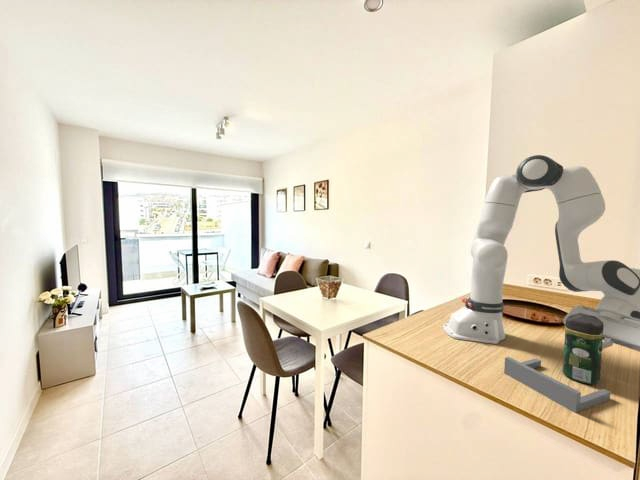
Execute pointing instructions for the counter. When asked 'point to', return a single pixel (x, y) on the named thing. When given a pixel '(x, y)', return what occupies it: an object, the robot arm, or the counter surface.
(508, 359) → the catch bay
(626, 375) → the counter surface
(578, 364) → the coffee jar
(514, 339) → the counter surface
